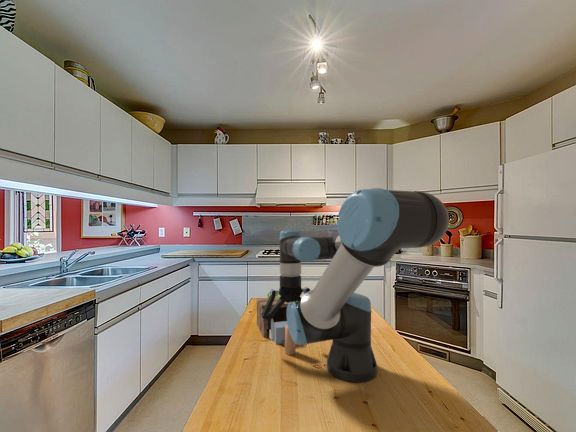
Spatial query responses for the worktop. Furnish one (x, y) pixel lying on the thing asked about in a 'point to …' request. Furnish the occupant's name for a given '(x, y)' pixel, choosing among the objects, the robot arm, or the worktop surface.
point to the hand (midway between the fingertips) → (290, 336)
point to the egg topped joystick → (284, 337)
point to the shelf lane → (278, 317)
